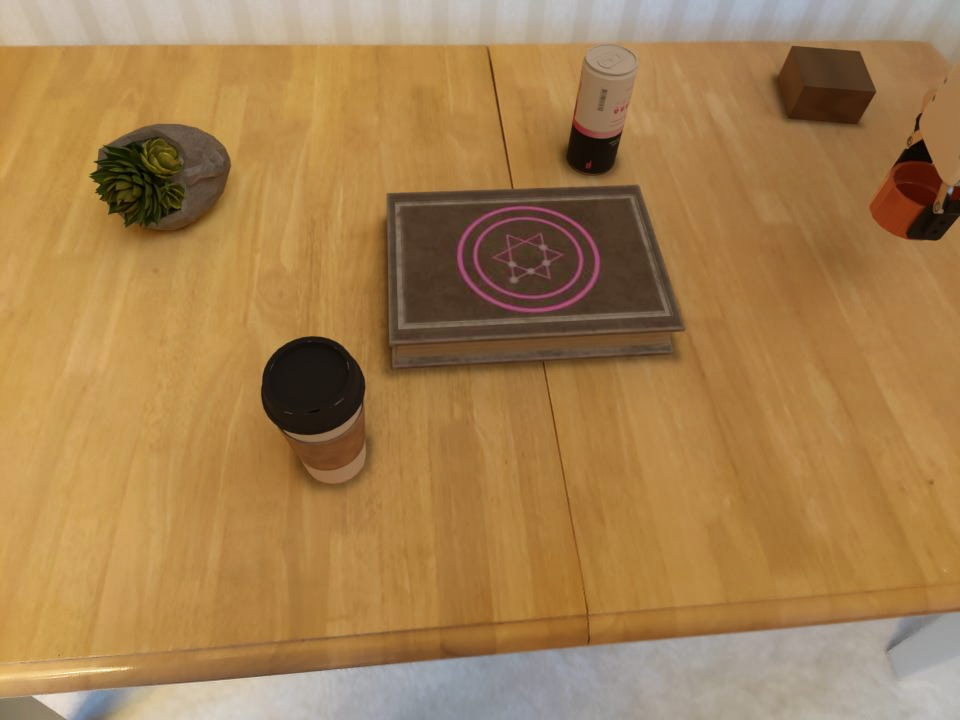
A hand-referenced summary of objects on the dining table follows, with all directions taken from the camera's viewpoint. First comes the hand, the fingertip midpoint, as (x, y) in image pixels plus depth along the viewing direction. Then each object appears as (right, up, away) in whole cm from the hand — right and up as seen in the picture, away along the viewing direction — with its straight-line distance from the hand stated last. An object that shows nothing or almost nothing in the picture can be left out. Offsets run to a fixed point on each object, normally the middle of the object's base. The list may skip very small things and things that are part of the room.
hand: (911, 208), depth 68 cm
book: (-39, -7, +10) cm, 41 cm away
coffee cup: (-58, -25, -3) cm, 63 cm away
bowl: (0, -1, +1) cm, 2 cm away
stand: (+6, +23, +32) cm, 40 cm away
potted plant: (-81, +2, +14) cm, 83 cm away
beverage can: (-29, +12, +23) cm, 39 cm away
